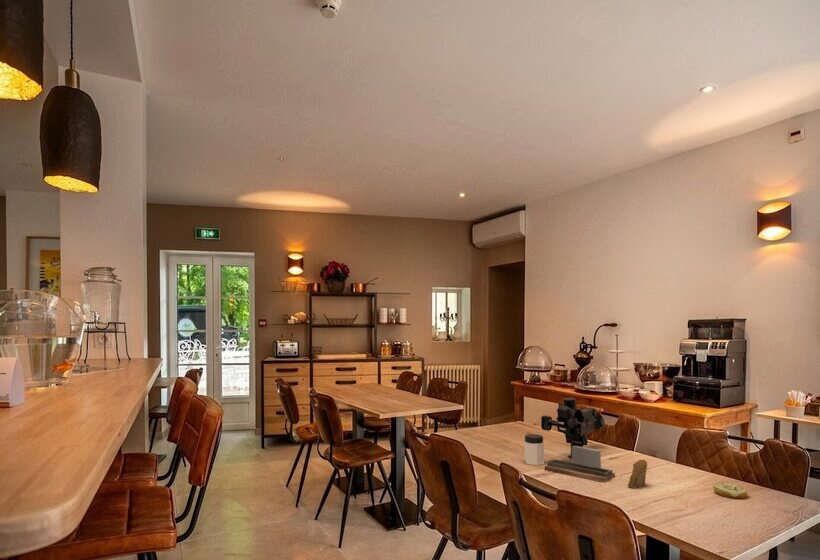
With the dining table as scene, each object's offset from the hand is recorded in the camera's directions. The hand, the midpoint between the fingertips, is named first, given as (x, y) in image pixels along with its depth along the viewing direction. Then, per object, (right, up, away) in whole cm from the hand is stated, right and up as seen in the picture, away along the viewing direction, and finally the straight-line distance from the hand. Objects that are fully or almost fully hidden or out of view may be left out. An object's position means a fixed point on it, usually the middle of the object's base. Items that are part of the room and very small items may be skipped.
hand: (553, 430), depth 228 cm
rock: (+25, -15, -24) cm, 38 cm away
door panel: (+15, -17, +2) cm, 22 cm away
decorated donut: (+56, -14, -35) cm, 67 cm away
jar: (-7, -17, +8) cm, 20 cm away
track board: (+8, -16, -8) cm, 20 cm away
